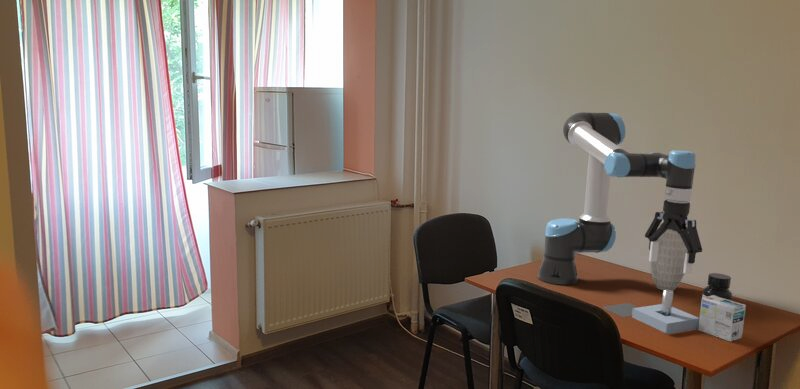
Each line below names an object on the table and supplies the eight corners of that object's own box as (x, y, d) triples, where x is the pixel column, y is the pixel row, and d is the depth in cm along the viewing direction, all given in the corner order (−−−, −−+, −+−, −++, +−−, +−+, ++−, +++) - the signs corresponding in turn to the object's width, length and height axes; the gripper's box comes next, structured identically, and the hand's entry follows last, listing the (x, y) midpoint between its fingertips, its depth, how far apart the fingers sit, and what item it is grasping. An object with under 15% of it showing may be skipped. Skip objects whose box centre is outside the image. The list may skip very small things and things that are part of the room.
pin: (657, 322, 199) (661, 289, 197) (664, 321, 200) (667, 288, 199) (665, 326, 197) (668, 292, 195) (671, 324, 198) (675, 291, 196)
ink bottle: (695, 304, 218) (699, 271, 216) (719, 304, 219) (723, 271, 217) (711, 314, 208) (715, 280, 206) (736, 314, 209) (740, 280, 207)
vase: (648, 281, 243) (656, 211, 238) (684, 287, 238) (692, 215, 233) (646, 290, 232) (654, 216, 227) (683, 296, 226) (692, 221, 221)
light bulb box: (742, 338, 189) (747, 304, 187) (730, 342, 185) (735, 308, 183) (709, 326, 198) (713, 294, 196) (696, 330, 194) (700, 297, 192)
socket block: (631, 318, 202) (632, 308, 201) (663, 313, 208) (664, 303, 207) (665, 334, 189) (667, 323, 189) (698, 328, 195) (699, 318, 195)
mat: (600, 308, 211) (601, 306, 211) (627, 304, 216) (627, 303, 215) (622, 318, 202) (622, 317, 202) (649, 314, 207) (650, 312, 207)
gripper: (637, 194, 202) (631, 257, 206) (702, 209, 180) (693, 279, 183) (654, 193, 205) (648, 255, 209) (720, 208, 183) (711, 277, 186)
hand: (669, 266), depth 196 cm, fingers open, 13 cm apart
